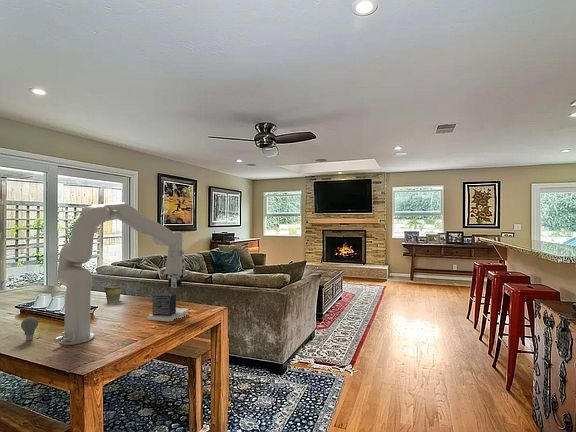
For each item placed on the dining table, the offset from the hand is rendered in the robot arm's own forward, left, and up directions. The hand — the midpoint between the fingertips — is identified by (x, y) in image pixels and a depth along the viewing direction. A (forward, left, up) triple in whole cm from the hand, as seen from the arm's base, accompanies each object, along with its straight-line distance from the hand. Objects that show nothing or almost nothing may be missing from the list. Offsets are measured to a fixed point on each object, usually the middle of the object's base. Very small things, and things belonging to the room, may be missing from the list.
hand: (175, 286), depth 181 cm
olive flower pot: (+18, +55, -16) cm, 60 cm away
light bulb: (-49, +40, -16) cm, 65 cm away
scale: (-3, 0, -16) cm, 16 cm away
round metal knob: (0, 0, -1) cm, 1 cm away
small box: (-7, +2, -14) cm, 16 cm away
